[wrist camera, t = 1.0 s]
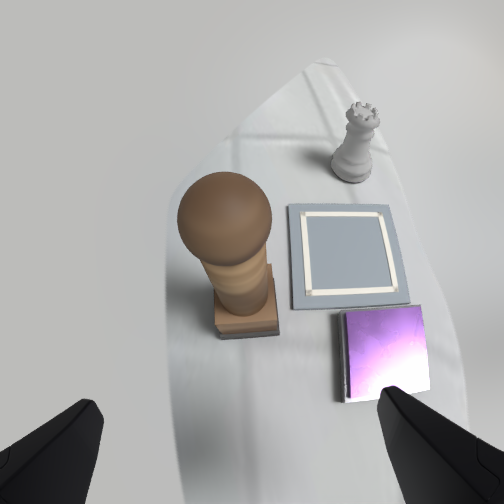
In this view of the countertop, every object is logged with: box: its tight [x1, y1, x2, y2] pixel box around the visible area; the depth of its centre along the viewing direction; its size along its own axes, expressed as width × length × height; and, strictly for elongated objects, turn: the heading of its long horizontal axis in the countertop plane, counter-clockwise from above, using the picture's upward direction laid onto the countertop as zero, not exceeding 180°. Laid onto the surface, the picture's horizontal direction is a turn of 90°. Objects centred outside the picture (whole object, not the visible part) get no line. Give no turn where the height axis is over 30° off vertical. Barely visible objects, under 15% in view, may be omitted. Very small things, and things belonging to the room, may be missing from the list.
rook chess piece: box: [331, 102, 380, 183], centre depth 26 cm, size 4×4×8 cm
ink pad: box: [337, 305, 430, 403], centre depth 19 cm, size 7×7×2 cm
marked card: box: [288, 204, 411, 310], centre depth 24 cm, size 10×10×1 cm
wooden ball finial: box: [177, 172, 280, 340], centre depth 16 cm, size 4×4×14 cm
